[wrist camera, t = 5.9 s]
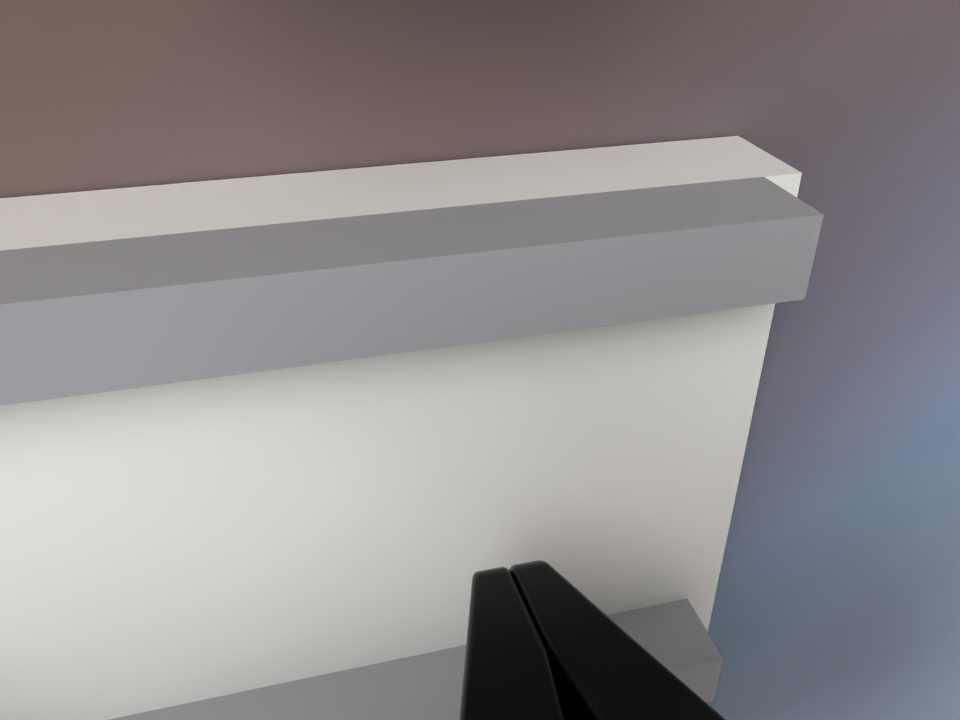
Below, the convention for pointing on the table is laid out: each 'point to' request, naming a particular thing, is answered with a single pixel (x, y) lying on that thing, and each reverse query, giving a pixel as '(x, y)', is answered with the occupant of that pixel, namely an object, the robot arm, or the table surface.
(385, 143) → the table surface
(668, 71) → the table surface
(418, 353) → the breaker panel
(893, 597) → the table surface
